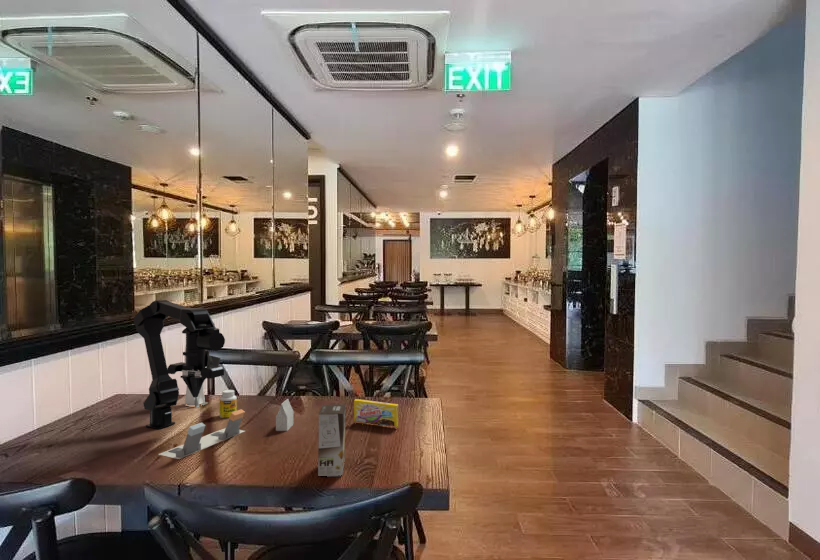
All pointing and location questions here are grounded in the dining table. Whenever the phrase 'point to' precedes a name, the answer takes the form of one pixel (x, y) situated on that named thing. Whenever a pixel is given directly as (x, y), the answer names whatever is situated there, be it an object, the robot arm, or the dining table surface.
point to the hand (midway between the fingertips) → (195, 397)
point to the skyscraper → (192, 400)
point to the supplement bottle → (227, 403)
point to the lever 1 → (193, 438)
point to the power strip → (204, 443)
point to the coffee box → (331, 440)
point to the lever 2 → (234, 423)
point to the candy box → (376, 412)
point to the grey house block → (284, 417)
